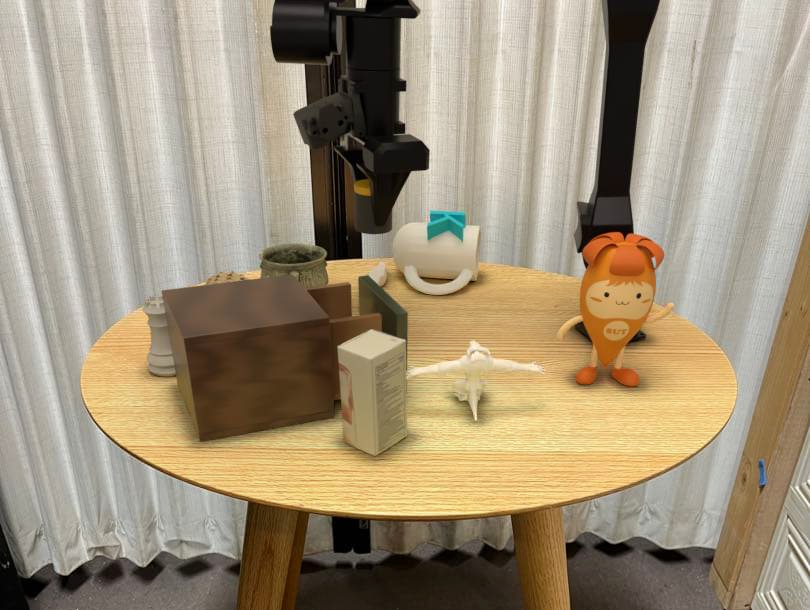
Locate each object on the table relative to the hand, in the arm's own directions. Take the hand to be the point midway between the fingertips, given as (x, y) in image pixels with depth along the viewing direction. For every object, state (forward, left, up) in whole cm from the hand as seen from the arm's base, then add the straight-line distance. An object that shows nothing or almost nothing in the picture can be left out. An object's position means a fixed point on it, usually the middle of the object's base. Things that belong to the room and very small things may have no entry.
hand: (373, 220), depth 96 cm
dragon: (-2, +25, -13) cm, 28 cm away
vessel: (+7, -10, -13) cm, 18 cm away
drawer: (+10, +16, -12) cm, 22 cm away
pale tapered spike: (-4, -10, -13) cm, 17 cm away
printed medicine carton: (+10, +28, -13) cm, 32 cm away
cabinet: (+19, +16, -12) cm, 28 cm away
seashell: (+17, -7, -13) cm, 23 cm away
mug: (-13, -11, -13) cm, 21 cm away
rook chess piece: (+26, +5, -13) cm, 29 cm away
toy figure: (-19, +23, -13) cm, 32 cm away
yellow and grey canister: (0, 0, -1) cm, 1 cm away
